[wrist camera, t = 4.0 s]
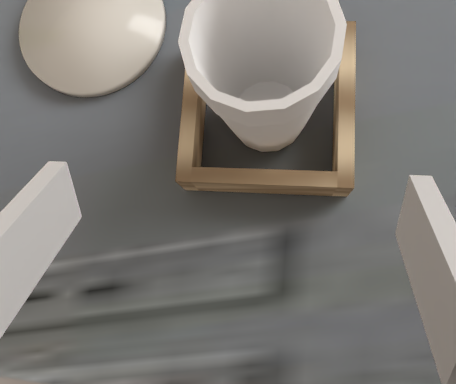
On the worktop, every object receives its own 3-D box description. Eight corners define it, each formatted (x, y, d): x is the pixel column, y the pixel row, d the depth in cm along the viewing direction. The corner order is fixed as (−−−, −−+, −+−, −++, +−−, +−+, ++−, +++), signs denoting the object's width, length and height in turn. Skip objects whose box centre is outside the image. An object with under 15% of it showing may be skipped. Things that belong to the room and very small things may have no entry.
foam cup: (319, 62, 37) (339, -50, 24) (328, 165, 35) (355, 102, 23) (211, 72, 38) (177, -30, 25) (215, 172, 36) (179, 117, 24)
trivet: (191, 50, 39) (189, 45, 38) (56, 124, 39) (51, 120, 38) (129, -62, 42) (125, -70, 41) (5, 7, 42) (-2, 0, 41)
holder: (347, 196, 35) (354, 188, 31) (185, 190, 36) (175, 181, 33) (349, 44, 37) (355, 21, 34) (197, 45, 39) (189, 23, 35)
